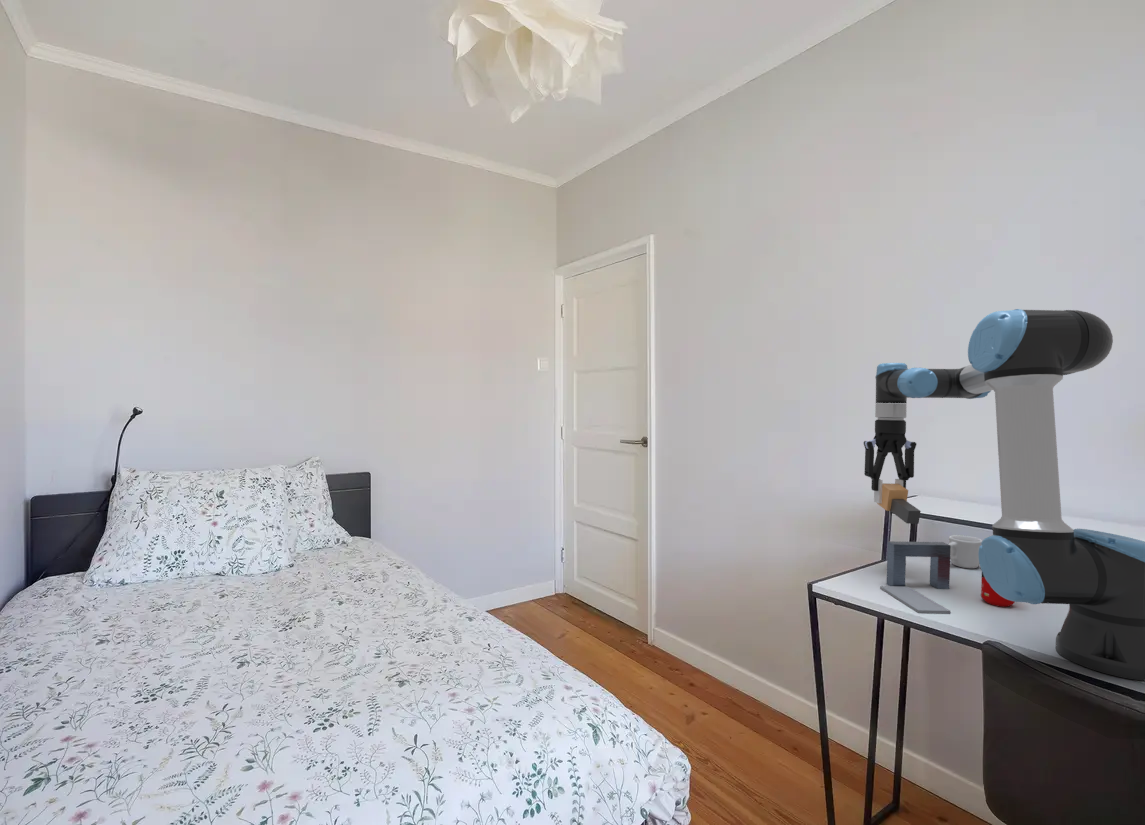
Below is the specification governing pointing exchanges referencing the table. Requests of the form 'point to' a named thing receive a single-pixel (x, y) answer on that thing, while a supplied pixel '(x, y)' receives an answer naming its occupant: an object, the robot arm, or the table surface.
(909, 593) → the mat
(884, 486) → the plug
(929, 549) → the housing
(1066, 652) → the robot arm
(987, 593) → the beverage can
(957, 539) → the cup
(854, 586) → the table surface
